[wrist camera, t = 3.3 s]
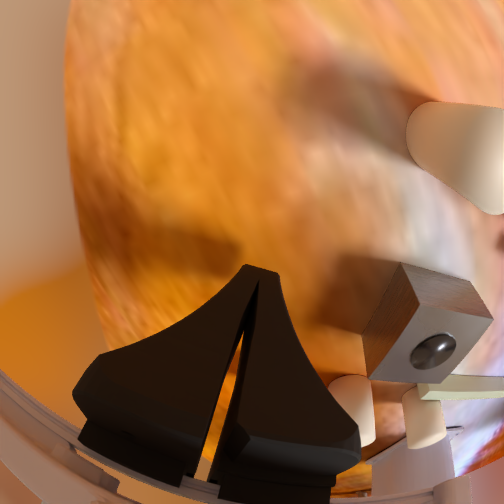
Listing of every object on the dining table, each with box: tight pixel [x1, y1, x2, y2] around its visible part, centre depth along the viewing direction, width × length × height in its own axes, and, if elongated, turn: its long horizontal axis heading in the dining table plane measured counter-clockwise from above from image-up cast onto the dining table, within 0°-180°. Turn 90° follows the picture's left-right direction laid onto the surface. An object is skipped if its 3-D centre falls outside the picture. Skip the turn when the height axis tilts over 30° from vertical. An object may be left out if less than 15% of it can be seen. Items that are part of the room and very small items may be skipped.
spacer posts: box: [328, 102, 504, 449], centre depth 10 cm, size 17×14×4 cm
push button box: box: [362, 262, 494, 384], centre depth 10 cm, size 4×4×3 cm
